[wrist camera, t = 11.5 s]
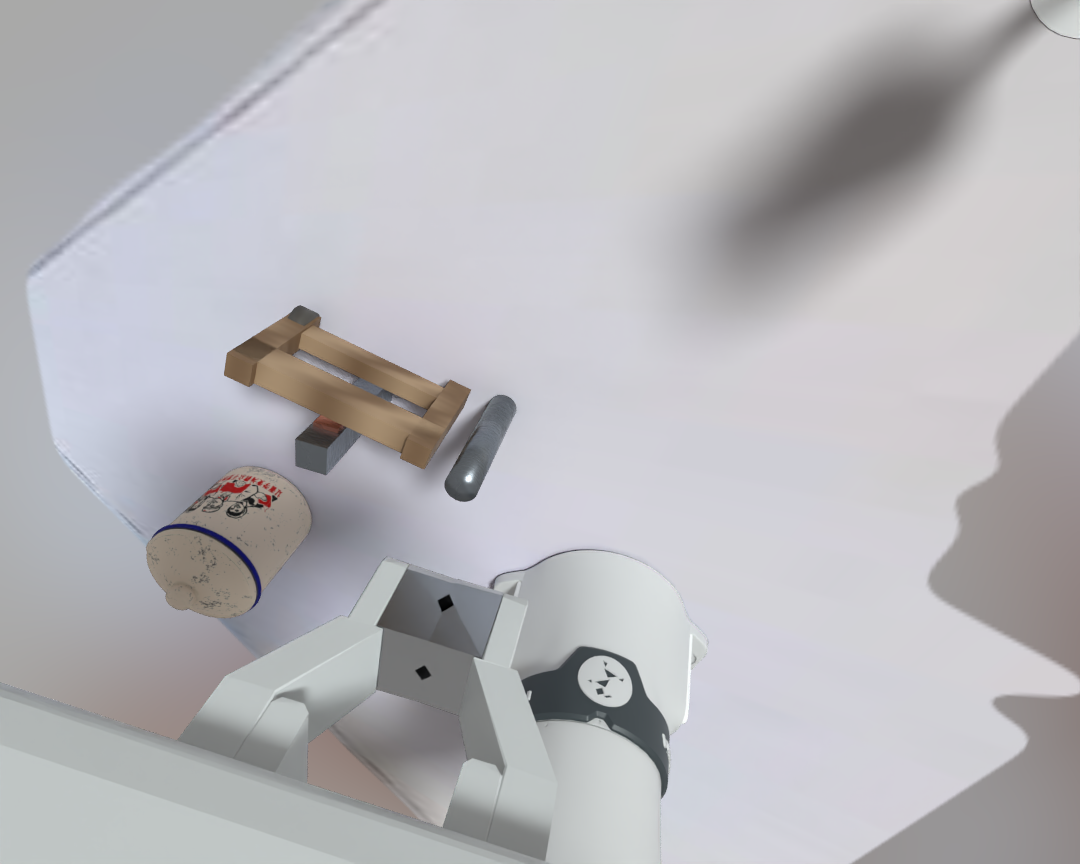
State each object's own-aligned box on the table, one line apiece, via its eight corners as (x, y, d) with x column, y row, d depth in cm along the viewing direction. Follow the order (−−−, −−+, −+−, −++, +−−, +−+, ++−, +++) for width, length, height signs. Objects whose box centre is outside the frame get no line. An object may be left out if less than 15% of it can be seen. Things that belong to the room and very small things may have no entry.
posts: (510, 434, 45) (471, 519, 37) (366, 392, 46) (295, 465, 37) (518, 399, 43) (480, 479, 35) (369, 355, 44) (295, 423, 35)
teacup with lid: (296, 461, 50) (204, 556, 41) (328, 546, 55) (252, 650, 45) (175, 461, 53) (62, 550, 43) (215, 542, 58) (120, 639, 48)
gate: (475, 381, 43) (434, 443, 36) (463, 410, 44) (421, 475, 37) (304, 299, 42) (228, 346, 35) (297, 330, 43) (222, 381, 36)
